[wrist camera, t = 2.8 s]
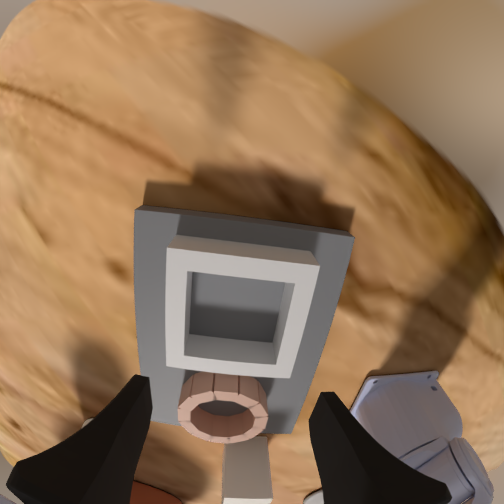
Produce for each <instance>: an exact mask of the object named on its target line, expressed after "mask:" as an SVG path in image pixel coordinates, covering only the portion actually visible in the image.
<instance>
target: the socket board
mask: <svg viewBox="0 0 504 504" xmlns="http://www.w3.org/2000/svg"><path fill="white" fill-rule="evenodd" d="M354 239H355V237H354V236H352V235H351V234H350V233H349V232H348V231H343V230H336V229H330V228H323V227H316V226H310V225H303V224H296V223H289V222H281V221H274V220H267V219H259V218H252V217H244V216H236V215H228V214H219V213H211V212H202V211H193V210H184V209H175V208H166V207H156V206H146V205H142V206H140V207H138V208H137V209H135V217H134V294H135V315H136V330H137V342H138V353H139V363H140V372H141V376H146V377H149V378H150V388H151V396H152V405H153V410H152V415H151V420H150V421H155V422H161V423H166V424H172V425H178V426H183V427H184V428H185V429H186V430H187V431H188V433H191V435H194V436H196V437H198V438H201V439H203V440H206V441H209V440H210V442H217V443H228V444H229V442H230V443H236V442H241V441H245V440H249V438H250V439H252V438H253V437H255V436H256V435H258V434H259V433H270V434H291V433H292V430H293V428H294V425H295V423H296V421H297V418H298V416H299V413H300V411H301V408H302V406H303V403H304V401H305V398H306V395H307V393H308V390H309V388H310V385H311V382H312V379H313V377H314V374H315V371H316V368H317V366H318V363H319V360H320V357H321V354H322V351H323V348H324V345H325V342H326V339H327V336H328V333H329V330H330V326H331V323H332V320H333V317H334V313H335V310H336V307H337V303H338V300H339V296H340V293H341V289H342V286H343V282H344V279H345V275H346V271H347V267H348V263H349V259H350V255H351V251H352V247H353V243H354Z"/></svg>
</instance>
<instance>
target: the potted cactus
mask: <svg viewBox="0 0 504 504" xmlns="http://www.w3.org/2000/svg"><path fill="white" fill-rule="evenodd" d="M130 504H182V502H181V501H180V500H179V499H177V498H176V497H174V496H172V495H171V494H169V493H166V492H164V491H162V490H159V489H156V488H154V487H151V486H148V485H145V484H142V483H139V482H136V481H133V485H132V491H131V498H130Z"/></svg>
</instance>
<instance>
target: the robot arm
mask: <svg viewBox="0 0 504 504" xmlns="http://www.w3.org/2000/svg"><path fill="white" fill-rule="evenodd" d="M438 375H439V372H438V371H428V372H420V373H410V374H398V375H385V376H370V377H368V378H367V379H366V380H365V382H364V384H363V386H362V388H361V390H360V392H359V394H358V396H357V398H356V400H355V402H354V404H353V406H352V408H351V410H350V411H349V410H348V409H347V407H346V406H345V405H344V404H343V402H342V401H341V400H340V399H339V397H338V396H337V395H336V394H335V392H321V393H320V396H319V398H318V400H317V403H316V405H315V407H314V410H313V412H312V414H311V416H310V419H309V430H310V438H311V444H312V448H313V452H314V456H315V460H316V463H317V467H318V471H319V475H320V479H321V484H322V491H323V500H324V504H461V503H462V502H463V503H462V504H491V502H492V500H493V492H494V489H493V485H492V483H491V481H490V479H489V478H488V474H487V472H486V470H485V468H484V466H483V464H482V462H481V460H480V459H479V457H478V455H477V454H476V452H475V451H474V449H473V448H472V447H471V445H470V444H469V443H468V442H467V440H466V439H464V438H461V435H462V420H461V416H460V414H459V412H458V410H457V409H456V407H455V406H454V405H453V403H452V402H451V400H450V399H449V397H448V396H447V394H446V393H445V391H444V390H443V389H442V387H441V386H440V384H439V383H438V382H437V380H436V379H437V377H438ZM152 410H153V405H152V396H151V388H150V378H149V377H146V376H141V375H136V374H135V375H134V376H133V377H132V378H131V379H130V381H129V382H128V383H127V384H126V385H125V387H124V388H123V389H122V390H121V391H120V392H119V394H118V395H117V396H116V397H115V398H114V399H113V400H112V401H111V402H110V403H109V404H108V405H107V406H106V407H105V408H104V409H103V410H102V411H101V412H100V413H99V414H98V415H97V416H96V417H95V418H94V419H92V420H91V421H90V422H89V423H88V424H87V425H85V426H84V427H83V428H81V429H80V430H79V431H77V432H76V433H75V434H73V435H72V436H70V437H69V438H67V439H66V440H64V441H62V442H61V443H59V444H57V445H55V446H53V447H52V448H50V449H48V450H46V451H44V452H42V453H39V454H37V455H34V456H32V457H29V458H26V459H24V460H21V461H18V462H17V463H16V465H15V466H14V468H13V470H12V472H11V474H10V476H9V478H8V481H7V483H6V486H7V488H8V489H9V490H10V491H11V492H12V493H13V494H14V495H15V496H17V497H18V498H19V499H20V500H21V501H22V502H23V503H24V504H130V498H131V491H132V485H133V479H134V474H135V470H136V466H137V463H138V460H139V457H140V454H141V451H142V448H143V445H144V442H145V439H146V435H147V432H148V429H149V425H150V420H151V415H152ZM468 498H469V499H468ZM466 499H468V500H466ZM465 500H466V501H465ZM464 501H465V502H464ZM0 504H16V503H14V502H13V501H11V500H9V499H8V498H6V497H4V496H3V495H1V494H0Z"/></svg>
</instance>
